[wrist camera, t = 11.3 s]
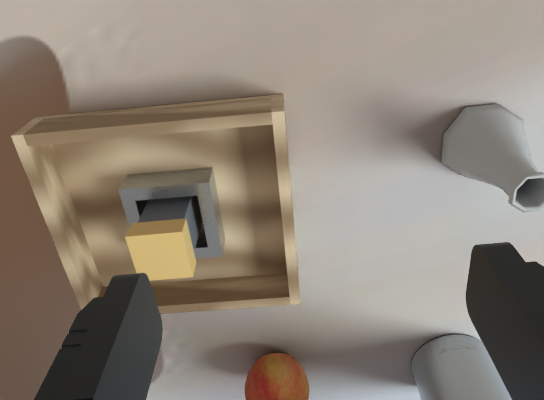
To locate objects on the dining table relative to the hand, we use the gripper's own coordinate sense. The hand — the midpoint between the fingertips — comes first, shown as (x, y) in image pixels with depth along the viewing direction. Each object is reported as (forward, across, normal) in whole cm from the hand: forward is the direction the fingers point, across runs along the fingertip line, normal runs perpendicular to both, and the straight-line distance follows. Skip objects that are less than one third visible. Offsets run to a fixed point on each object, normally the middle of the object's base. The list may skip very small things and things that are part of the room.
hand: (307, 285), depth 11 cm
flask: (+30, -17, +11) cm, 36 cm away
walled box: (+30, +12, +14) cm, 35 cm away
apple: (+30, +4, +37) cm, 48 cm away
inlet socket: (+30, +12, +14) cm, 35 cm away
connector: (+29, +12, +14) cm, 34 cm away
